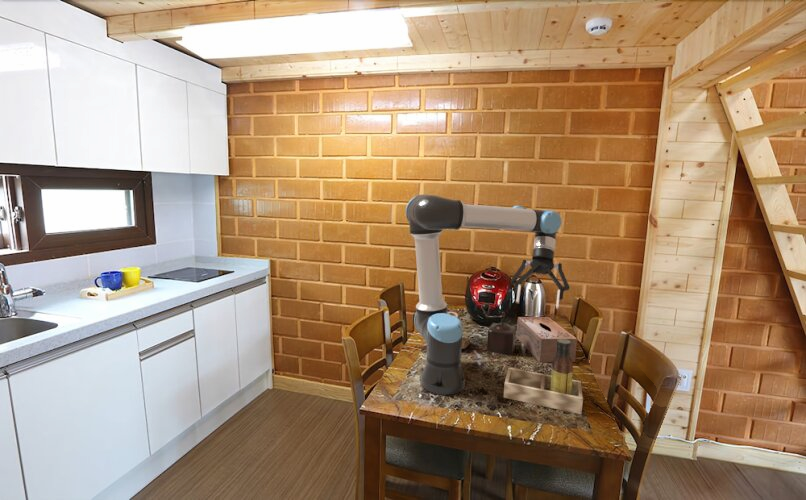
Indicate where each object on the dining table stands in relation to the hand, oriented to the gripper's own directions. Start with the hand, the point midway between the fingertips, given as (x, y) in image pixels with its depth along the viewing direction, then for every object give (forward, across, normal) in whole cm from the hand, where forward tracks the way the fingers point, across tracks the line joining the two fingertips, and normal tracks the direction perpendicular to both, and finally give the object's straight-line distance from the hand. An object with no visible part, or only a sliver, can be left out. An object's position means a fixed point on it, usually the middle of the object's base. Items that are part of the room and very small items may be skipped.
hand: (536, 305), depth 136 cm
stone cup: (+20, +34, -19) cm, 44 cm away
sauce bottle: (+30, -11, +3) cm, 32 cm away
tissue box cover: (+12, -2, -34) cm, 36 cm away
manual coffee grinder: (+16, +16, -26) cm, 35 cm away
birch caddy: (+30, -5, +3) cm, 31 cm away
